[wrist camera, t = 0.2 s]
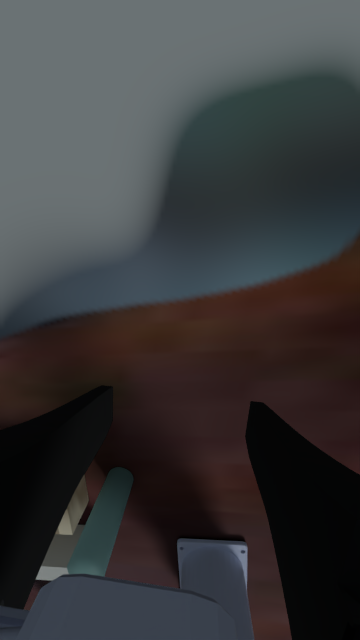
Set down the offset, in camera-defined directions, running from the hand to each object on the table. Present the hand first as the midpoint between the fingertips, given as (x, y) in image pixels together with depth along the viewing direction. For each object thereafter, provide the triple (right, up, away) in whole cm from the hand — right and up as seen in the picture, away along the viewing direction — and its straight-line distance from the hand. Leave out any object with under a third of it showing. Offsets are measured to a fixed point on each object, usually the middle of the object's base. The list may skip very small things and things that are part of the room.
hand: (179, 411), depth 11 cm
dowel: (-7, -13, +14) cm, 20 cm away
